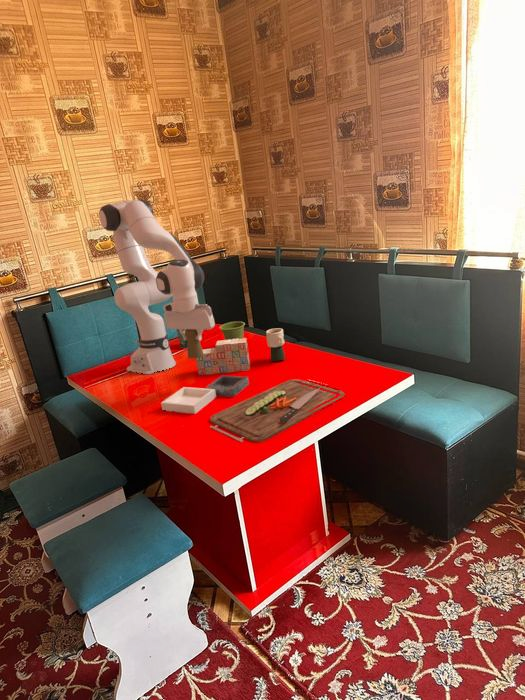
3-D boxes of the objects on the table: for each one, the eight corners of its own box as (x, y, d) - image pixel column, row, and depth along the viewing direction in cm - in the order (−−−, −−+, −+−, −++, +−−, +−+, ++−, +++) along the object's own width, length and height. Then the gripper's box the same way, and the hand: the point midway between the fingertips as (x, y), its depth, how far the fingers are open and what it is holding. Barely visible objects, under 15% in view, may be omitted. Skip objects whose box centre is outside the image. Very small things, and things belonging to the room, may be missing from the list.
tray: (162, 410, 180) (160, 402, 179) (185, 394, 191) (183, 387, 190) (195, 413, 173) (193, 405, 172) (216, 396, 185) (215, 389, 184)
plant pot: (221, 347, 242) (217, 324, 239) (245, 342, 244) (242, 320, 241) (225, 354, 231) (221, 330, 228) (250, 349, 233) (247, 325, 230)
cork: (206, 353, 195) (201, 325, 191) (199, 358, 189) (194, 330, 186) (192, 353, 197) (187, 326, 193) (185, 358, 191) (180, 331, 188)
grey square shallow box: (207, 394, 188) (205, 387, 187) (222, 382, 198) (221, 375, 197) (234, 396, 183) (232, 389, 182) (249, 384, 192) (247, 376, 191)
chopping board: (298, 378, 192) (297, 371, 191) (353, 394, 172) (353, 386, 171) (200, 424, 166) (199, 416, 165) (252, 449, 146) (251, 439, 145)
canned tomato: (194, 347, 248) (191, 326, 244) (179, 349, 248) (174, 328, 244) (196, 342, 255) (192, 321, 252) (181, 344, 255) (177, 323, 252)
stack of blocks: (198, 375, 209) (193, 347, 205) (200, 370, 215) (195, 343, 211) (249, 370, 207) (245, 341, 203) (250, 365, 213) (246, 337, 209)
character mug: (291, 360, 211) (288, 331, 207) (276, 365, 208) (273, 335, 204) (279, 354, 220) (275, 326, 216) (264, 359, 217) (260, 330, 213)
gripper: (214, 301, 185) (220, 337, 189) (169, 302, 194) (176, 336, 198) (205, 306, 179) (211, 343, 184) (159, 306, 189) (166, 342, 193)
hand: (192, 340), depth 191 cm, fingers closed on cork, 4 cm apart
